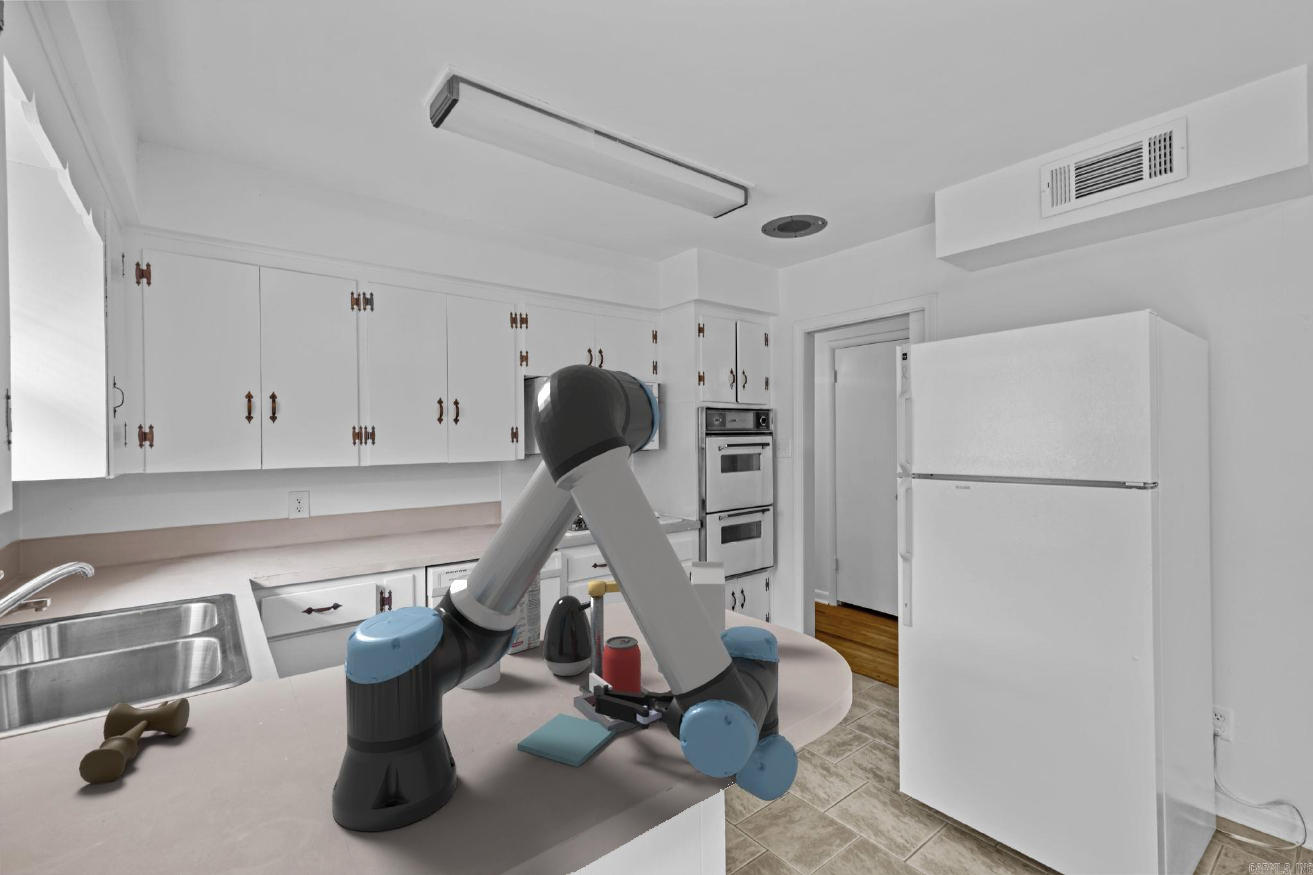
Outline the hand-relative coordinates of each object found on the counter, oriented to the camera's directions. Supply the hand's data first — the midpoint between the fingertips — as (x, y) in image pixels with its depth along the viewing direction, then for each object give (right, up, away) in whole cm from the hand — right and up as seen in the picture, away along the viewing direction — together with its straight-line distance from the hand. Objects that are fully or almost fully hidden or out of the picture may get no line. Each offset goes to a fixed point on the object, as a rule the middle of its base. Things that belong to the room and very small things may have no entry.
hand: (626, 671), depth 103 cm
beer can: (-1, -7, +1) cm, 7 cm away
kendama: (-74, -8, -11) cm, 76 cm away
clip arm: (0, +9, +10) cm, 13 cm away
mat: (-9, -7, -9) cm, 15 cm away
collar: (-1, -7, +1) cm, 7 cm away
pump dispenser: (-12, -7, +18) cm, 23 cm away
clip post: (-6, -7, +8) cm, 12 cm away
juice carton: (-26, -7, +31) cm, 41 cm away
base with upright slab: (-30, -7, +14) cm, 34 cm away
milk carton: (+17, -7, +31) cm, 36 cm away
